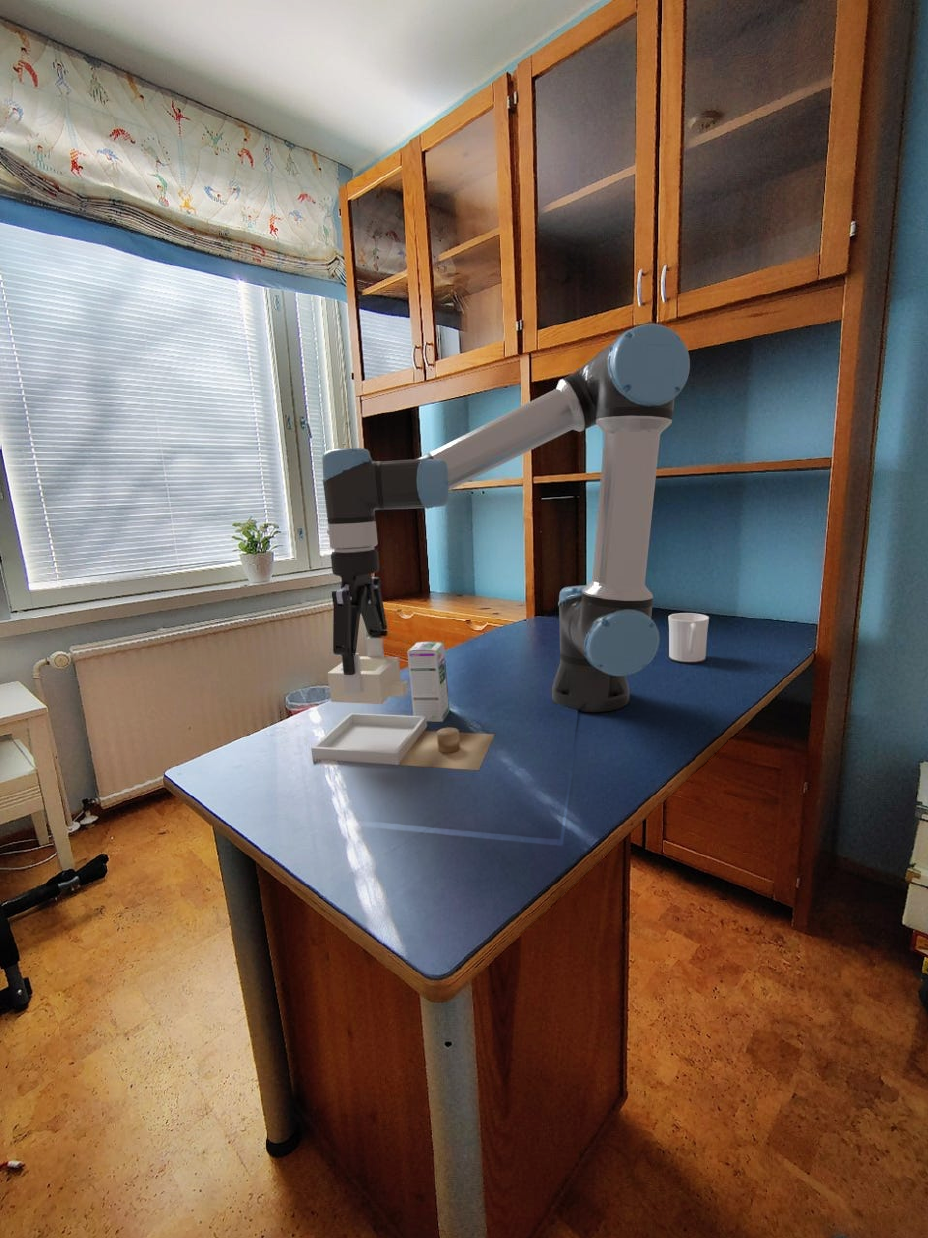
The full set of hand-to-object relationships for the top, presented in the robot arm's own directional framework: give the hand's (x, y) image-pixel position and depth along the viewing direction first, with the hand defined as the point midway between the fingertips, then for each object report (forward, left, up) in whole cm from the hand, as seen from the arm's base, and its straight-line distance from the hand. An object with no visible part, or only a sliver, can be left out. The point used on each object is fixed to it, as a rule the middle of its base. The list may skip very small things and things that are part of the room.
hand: (366, 682), depth 97 cm
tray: (0, 0, -11) cm, 11 cm away
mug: (-58, -53, -12) cm, 80 cm away
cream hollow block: (-1, 0, -2) cm, 2 cm away
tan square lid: (-14, +1, -11) cm, 18 cm away
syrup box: (-7, -13, -12) cm, 19 cm away
